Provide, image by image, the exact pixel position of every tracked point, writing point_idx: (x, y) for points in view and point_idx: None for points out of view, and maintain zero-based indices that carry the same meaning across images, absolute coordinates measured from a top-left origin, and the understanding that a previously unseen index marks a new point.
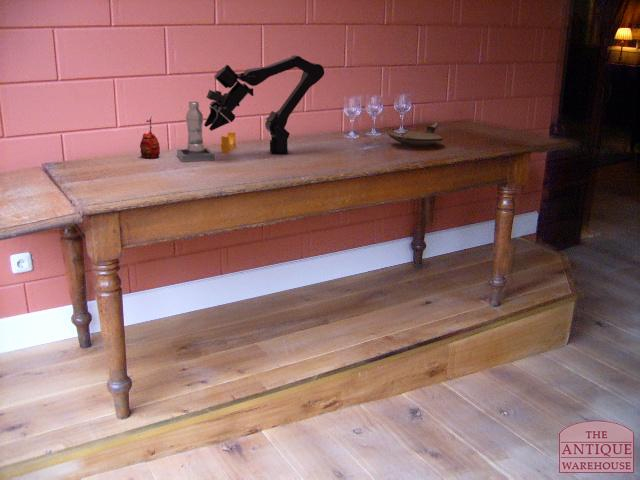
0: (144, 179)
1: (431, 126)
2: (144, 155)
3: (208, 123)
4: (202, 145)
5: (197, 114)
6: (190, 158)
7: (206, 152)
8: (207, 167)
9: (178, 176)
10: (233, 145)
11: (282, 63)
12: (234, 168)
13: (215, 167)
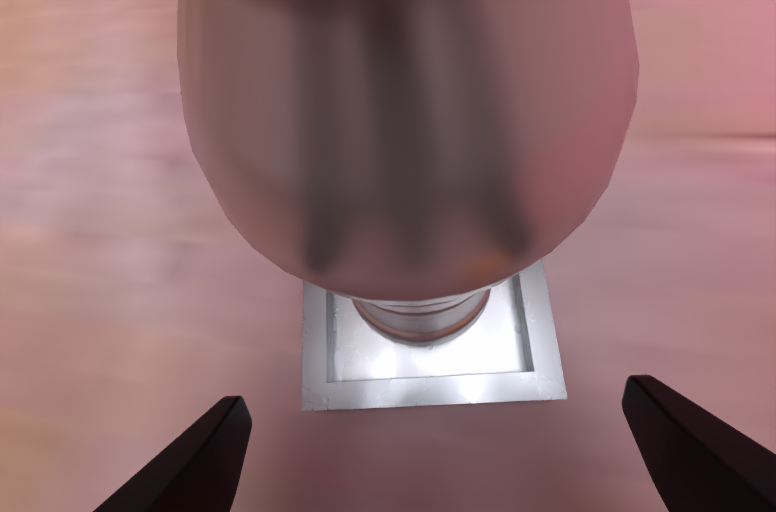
0: (43, 41)
1: None
2: None
3: (664, 465)
4: (369, 321)
5: (188, 114)
6: None
7: (490, 373)
8: (131, 324)
9: (19, 164)
10: None
11: None
12: (31, 494)
13: (110, 372)
